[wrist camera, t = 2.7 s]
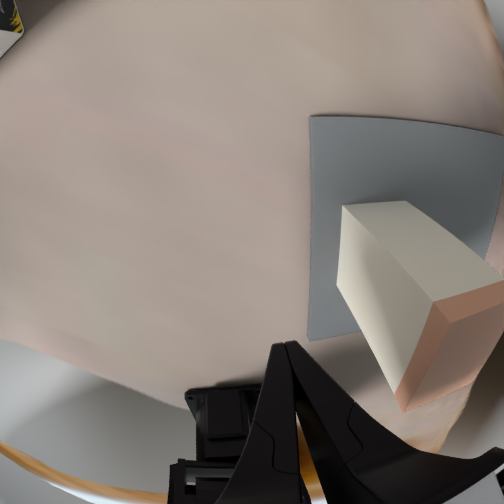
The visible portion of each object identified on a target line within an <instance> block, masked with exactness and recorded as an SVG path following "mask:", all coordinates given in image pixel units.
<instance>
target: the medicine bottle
mask: <svg viewBox="0 0 504 504" xmlns="http://www.w3.org/2000/svg"><path fill="white" fill-rule="evenodd" d="M23 32H24V28H23V25H22V22H21V19H20V16H19V13H18V10H17V7H16V3H15V0H0V57H1V56H2V55H3V54H4V53H5V52H6V51H7V50H8V49H9V48H10V47H11V46H12V45H13V44H14V43H15V42H16V41H17V40H18V39H19V38H20V37H21V36H22V34H23Z"/></svg>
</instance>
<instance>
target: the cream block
mask: <svg viewBox="0 0 504 504" xmlns="http://www.w3.org/2000/svg"><path fill="white" fill-rule="evenodd" d="M337 287H338V289H339V290H340V292H341V294H342V296H343V298H344V299H345V301H346V303H347V305H348V307H349V308H350V310H351V312H352V314H353V316H354V317H355V319H356V321H357V323H358V325H359V327H360V329H361V330H362V332H363V334H364V336H365V338H366V340H367V342H368V344H369V346H370V348H371V349H372V351H373V353H374V355H375V357H376V359H377V361H378V363H379V365H380V367H381V369H382V371H383V373H384V375H385V377H386V379H387V381H388V383H389V385H390V387H391V389H392V391H393V393H394V395H395V397H396V399H397V402H398V404H399V406H400V408H401V410H402V412H403V413H404V412H407V411H409V410H412V409H415V408H417V407H420V406H422V405H424V404H427V403H429V402H432V401H434V400H436V399H438V398H441V397H443V396H445V395H447V394H449V393H451V392H454V391H456V390H458V389H460V388H462V387H464V386H466V385H468V384H470V383H471V382H473V380H474V379H475V377H476V376H477V374H478V373H479V371H480V370H481V368H482V367H483V365H484V363H485V362H486V360H487V359H488V357H489V356H490V354H491V352H492V351H493V349H494V347H495V345H496V344H497V342H498V340H499V338H500V337H501V335H502V333H503V331H504V277H502V276H501V275H500V274H499V273H498V272H497V271H496V270H495V269H494V268H492V267H491V266H490V265H489V264H488V263H487V262H486V261H484V260H483V259H482V258H481V257H480V256H479V255H477V254H476V253H475V252H474V251H473V250H471V249H470V248H469V247H468V246H466V245H465V244H464V243H463V242H461V241H460V240H459V239H458V238H456V237H455V236H454V235H453V234H451V233H450V232H449V231H447V230H446V229H445V228H443V227H442V226H441V225H439V224H438V223H437V222H435V221H434V220H433V219H431V218H430V217H428V216H427V215H426V214H424V213H423V212H421V211H420V210H419V209H417V208H416V207H414V206H413V205H411V204H410V203H408V202H407V201H391V202H376V203H363V204H350V205H342V219H341V236H340V251H339V263H338V275H337Z"/></svg>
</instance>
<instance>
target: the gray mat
mask: <svg viewBox="0 0 504 504" xmlns="http://www.w3.org/2000/svg"><path fill="white" fill-rule="evenodd" d="M309 129H310V160H311V258H310V289H309V311H308V329H307V337H308V340H309V342H310V341H315V340H321V339H326V338H331V337H336V336H341V335H346V334H351V333H356V332H360V331H362V330H361V329H360V327H359V325H358V323H357V321H356V319H355V317H354V316H353V314H352V312H351V310H350V308H349V307H348V305H347V303H346V301H345V299H344V298H343V296H342V294H341V292H340V290H339V289H338V287H337V275H338V263H339V251H340V236H341V219H342V205H350V204H363V203H376V202H391V201H407V202H408V203H410V204H411V205H413V206H414V207H416V208H417V209H419V210H420V211H421V212H423V213H424V214H426V215H427V216H428V217H430V218H431V219H433V220H434V221H435V222H437V223H438V224H439V225H441V226H442V227H443V228H445V229H446V230H447V231H449V232H450V233H451V234H453V235H454V236H455V237H456V238H458V239H459V240H460V241H461V242H463V243H464V244H465V245H466V246H468V247H469V248H470V249H471V250H473V251H474V252H475V253H476V254H477V255H479V256H480V257H481V258H482V259H483V260H484V259H485V256H486V252H487V249H488V246H489V242H490V238H491V234H492V231H493V226H494V222H495V218H496V214H497V209H498V204H499V199H500V193H501V188H502V182H503V175H504V136H502V135H498V134H493V133H489V132H484V131H479V130H474V129H469V128H463V127H457V126H451V125H444V124H437V123H430V122H422V121H413V120H403V119H391V118H376V117H354V116H309Z"/></svg>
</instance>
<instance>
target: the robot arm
mask: <svg viewBox="0 0 504 504" xmlns="http://www.w3.org/2000/svg"><path fill="white" fill-rule="evenodd" d="M185 400H186V402H187V404H188V406H189V408H190V410H191V412H192V414H193V416H194V418H195V420H196V461H193V460H185V459H180V458H179V459H178V463H176V464H173V465H170V479H169V491H168V501H167V504H311V499H310V496H309V494H308V491H307V489H306V486H305V484H304V481H303V479H302V476H301V474H300V465H299V450H298V435H297V422H296V413H297V416H298V419H299V422H300V425H301V428H302V430H303V433H304V436H305V439H306V442H307V445H308V448H309V451H310V454H311V457H312V460H313V463H314V466H315V469H316V472H317V474H318V477H319V480H320V483H321V486H322V489H323V492H324V495H325V498H326V501H327V504H504V469H502V470H501V471H500V472H498V473H497V474H495V472H494V470H496V469H497V468H498V467H500V466H501V465H502V464H503V463H504V449H501V448H498V447H494V448H492V449H490V450H489V451H487V452H486V453H484V454H483V455H482V456H479V457H477V458H473V459H462V458H455V457H450V456H444V455H439V454H434V453H429V452H424V451H421V450H418V449H416V448H414V447H412V446H410V445H408V444H407V443H405V442H404V441H403V440H401V439H400V438H399V437H397V436H396V435H394V434H393V433H392V432H390V431H389V430H388V429H386V428H385V427H384V426H382V425H381V424H380V423H378V422H377V421H376V420H375V419H373V418H372V417H371V416H370V415H369V414H368V413H367V412H366V411H365V410H364V409H362V408H361V407H360V406H359V404H358V403H357V402H354V400H353V399H352V398H351V397H350V396H349V395H348V394H347V393H346V392H345V391H344V390H343V389H342V387H341V386H340V385H339V384H338V383H337V382H336V381H335V380H334V379H333V378H332V377H331V376H330V375H329V374H328V373H327V372H326V371H325V370H324V369H323V368H322V367H321V366H320V365H319V364H318V363H317V362H316V361H315V360H314V359H313V358H312V357H311V356H310V355H309V354H308V353H307V351H306V350H305V349H304V348H303V347H302V346H301V345H300V344H299V343H298V342H297V341H295V340H293V341H287V342H285V343H283V342H281V343H275V344H272V346H271V351H270V355H269V359H268V363H267V367H266V371H265V375H264V379H263V383H262V385H251V386H243V387H234V388H223V389H212V390H198V391H187V392H185ZM187 482H196V485H187Z"/></svg>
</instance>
